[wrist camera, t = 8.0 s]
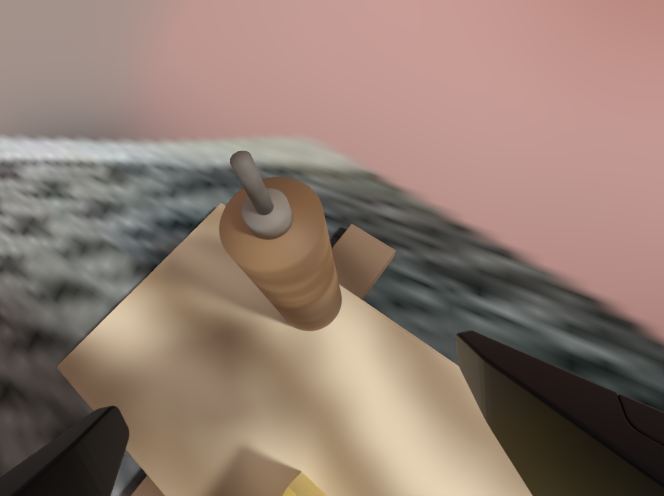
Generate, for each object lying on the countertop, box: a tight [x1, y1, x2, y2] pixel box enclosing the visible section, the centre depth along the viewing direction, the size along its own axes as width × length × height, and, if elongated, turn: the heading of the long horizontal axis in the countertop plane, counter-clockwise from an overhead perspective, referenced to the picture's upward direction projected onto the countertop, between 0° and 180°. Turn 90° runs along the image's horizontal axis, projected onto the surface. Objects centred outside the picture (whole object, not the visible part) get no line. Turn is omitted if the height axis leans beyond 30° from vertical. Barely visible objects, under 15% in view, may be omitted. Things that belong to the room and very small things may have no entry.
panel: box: [57, 203, 532, 496], centre depth 18 cm, size 22×26×1 cm
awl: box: [219, 151, 342, 331], centre depth 15 cm, size 4×4×13 cm
